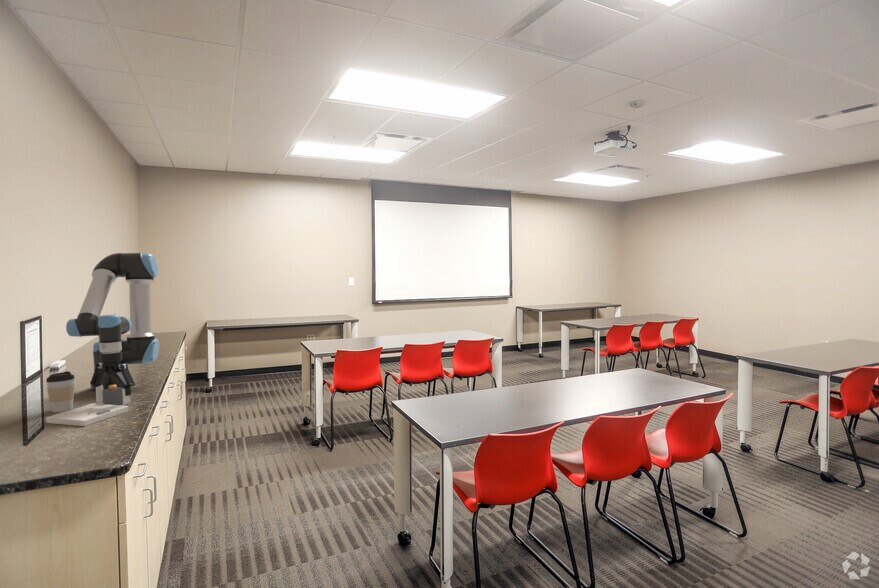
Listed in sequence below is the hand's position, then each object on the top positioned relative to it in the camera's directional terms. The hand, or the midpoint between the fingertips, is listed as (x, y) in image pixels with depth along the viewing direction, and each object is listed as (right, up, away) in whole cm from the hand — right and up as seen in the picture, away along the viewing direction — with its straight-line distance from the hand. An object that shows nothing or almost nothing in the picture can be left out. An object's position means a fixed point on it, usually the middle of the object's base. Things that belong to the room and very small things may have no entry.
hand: (113, 402), depth 192 cm
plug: (0, -1, 0) cm, 1 cm away
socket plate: (+1, -2, -14) cm, 14 cm away
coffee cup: (-17, -2, -5) cm, 18 cm away
